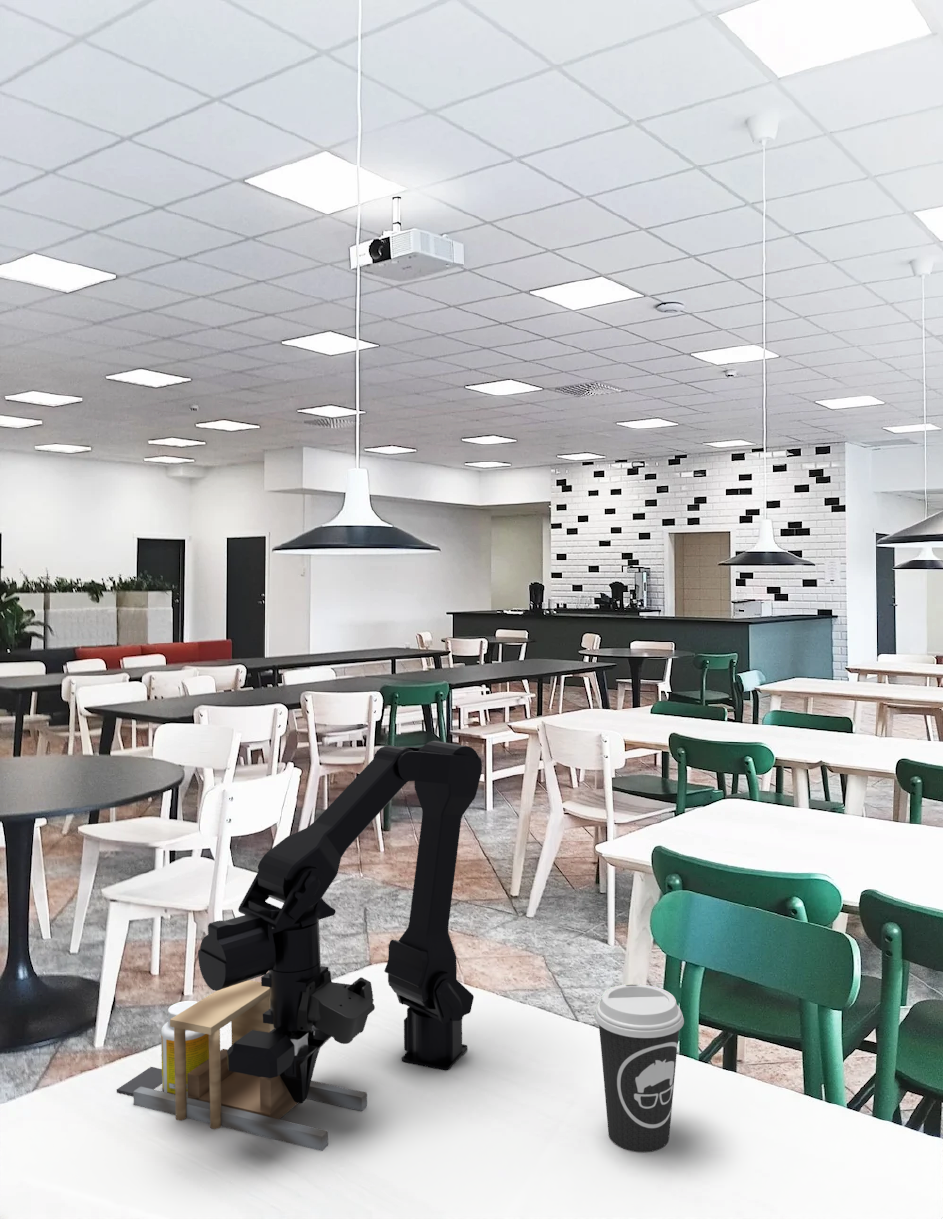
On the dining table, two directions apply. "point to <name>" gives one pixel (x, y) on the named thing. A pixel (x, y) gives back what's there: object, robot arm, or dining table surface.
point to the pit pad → (143, 1081)
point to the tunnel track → (245, 1015)
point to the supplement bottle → (194, 1048)
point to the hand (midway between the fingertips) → (300, 1101)
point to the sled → (242, 1090)
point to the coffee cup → (638, 1063)
